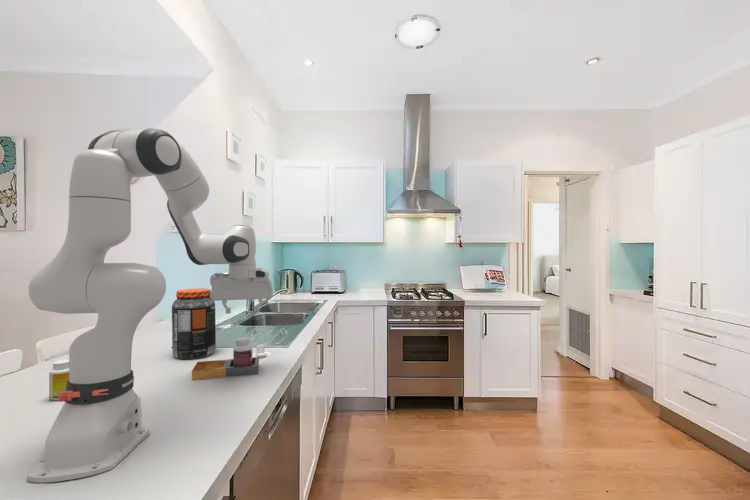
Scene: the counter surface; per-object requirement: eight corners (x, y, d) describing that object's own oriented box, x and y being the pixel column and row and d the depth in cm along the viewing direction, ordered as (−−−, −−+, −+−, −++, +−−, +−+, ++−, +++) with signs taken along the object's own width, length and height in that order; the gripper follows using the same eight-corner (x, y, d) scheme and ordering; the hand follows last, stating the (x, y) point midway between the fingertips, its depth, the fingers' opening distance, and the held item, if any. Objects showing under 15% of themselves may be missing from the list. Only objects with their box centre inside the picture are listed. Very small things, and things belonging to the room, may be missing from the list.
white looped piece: (264, 359, 145) (264, 349, 145) (245, 358, 146) (245, 348, 146) (274, 353, 153) (274, 343, 153) (256, 352, 155) (256, 342, 155)
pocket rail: (258, 374, 126) (258, 365, 126) (191, 380, 121) (191, 371, 121) (259, 365, 136) (259, 357, 136) (197, 370, 131) (197, 361, 131)
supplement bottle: (79, 395, 108) (79, 359, 108) (56, 402, 103) (56, 365, 103) (67, 392, 111) (67, 357, 111) (44, 399, 106) (44, 362, 106)
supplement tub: (193, 348, 160) (193, 287, 160) (224, 351, 155) (224, 288, 155) (162, 358, 145) (162, 291, 145) (194, 362, 140) (194, 292, 140)
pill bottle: (254, 372, 129) (254, 339, 129) (235, 375, 125) (235, 342, 125) (249, 367, 134) (249, 336, 134) (231, 370, 131) (231, 338, 131)
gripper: (208, 273, 124) (208, 315, 124) (273, 272, 129) (273, 312, 130) (211, 272, 130) (211, 312, 130) (272, 271, 135) (272, 309, 136)
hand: (242, 312), depth 130 cm, fingers open, 8 cm apart
